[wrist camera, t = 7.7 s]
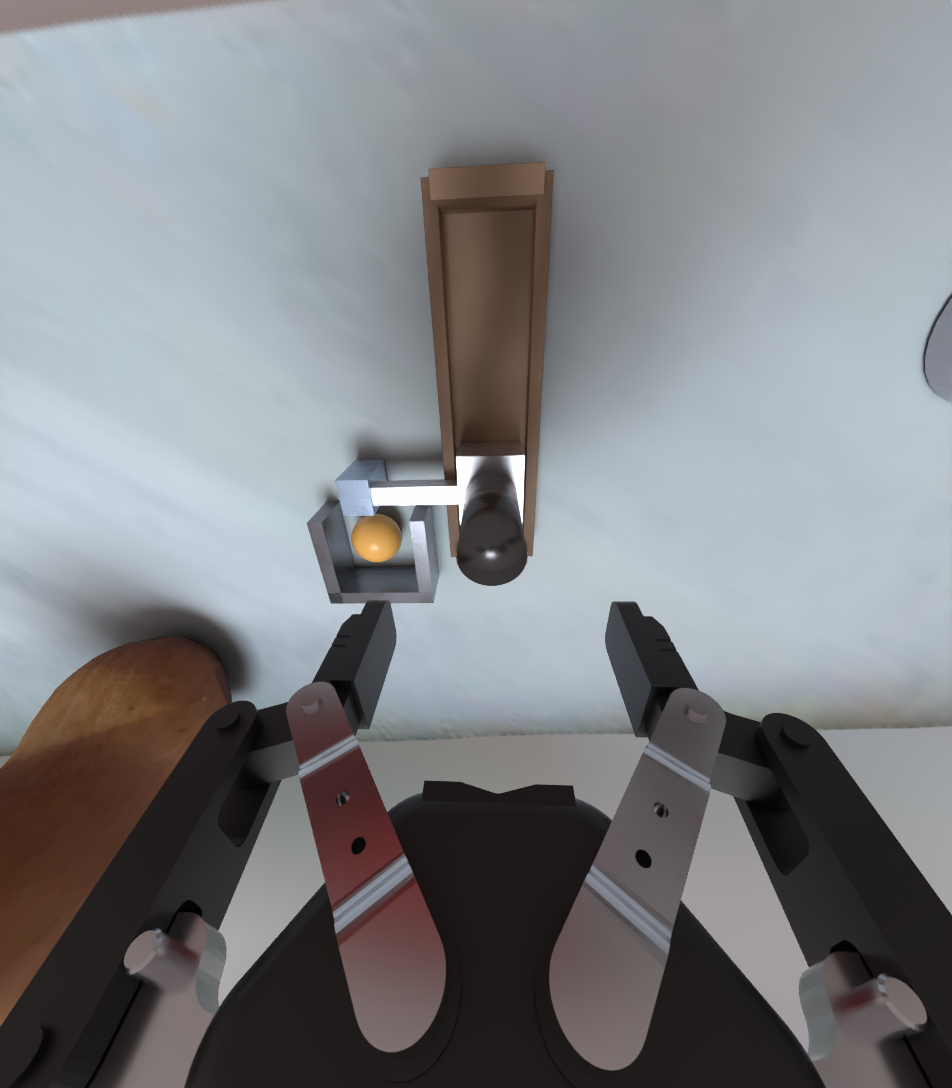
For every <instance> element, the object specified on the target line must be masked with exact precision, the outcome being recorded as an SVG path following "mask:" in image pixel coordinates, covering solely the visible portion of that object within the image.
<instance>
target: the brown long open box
mask: <svg viewBox="0 0 952 1088" xmlns="http://www.w3.org/2000/svg"><path fill="white" fill-rule="evenodd" d="M428 170H429V177H422V178H421V189H422V202H423V214H424V227H425V239H426V251H427V264H428V276H429V289H430V301H431V314H432V326H433V339H434V351H435V363H436V376H437V388H438V401H439V413H440V426H441V438H442V450H443V463H444V475H445V480H448V479H457V464H456V455H457V451H458V447H459V443H476V442H515V441H521V443H522V447H523V450H524V454H525V466H524V494H523V522H522V526H523V532H524V537H525V543H526V549H527V556H533V540H534V521H535V503H536V484H537V466H538V448H539V429H540V411H541V392H542V374H543V355H544V337H545V318H546V300H547V281H548V263H549V244H550V226H551V207H552V189H553V170H548V171H545V162H540V163H523V164H505V165H487V166H470V167H452V168H435V169H428ZM447 513H448V525H449V538H450V550H451V557H456V555H457V547H458V540H459V533H460V513H459V504H447ZM456 560H457V558H456ZM457 564H458V563H457ZM526 564H527V562H526Z"/></svg>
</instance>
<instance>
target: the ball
mask: <svg viewBox="0 0 952 1088" xmlns="http://www.w3.org/2000/svg"><path fill="white" fill-rule="evenodd" d="M401 541H402V535H401V531H400V528H399V526H398V525H397V523H396V522H395V521H394V520H393V519H392V518H390V517H388V516H386V515H383V514H375V515H374V516H365V517H363V518H362V519H360V520H359V521H358V522H357V524H356V525H355V527H354V529H353V532H352V544H353V547H354V549H355V551H356V552H357V554H358V555H359V556H361V557H362V558H364V559H365V560H368V561H371V562H383V561H386V560H388V559H390V558H392V557H393V556H394V555H395V554H396V553H397V551H398V550H399V548H400V546H401Z"/></svg>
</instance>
